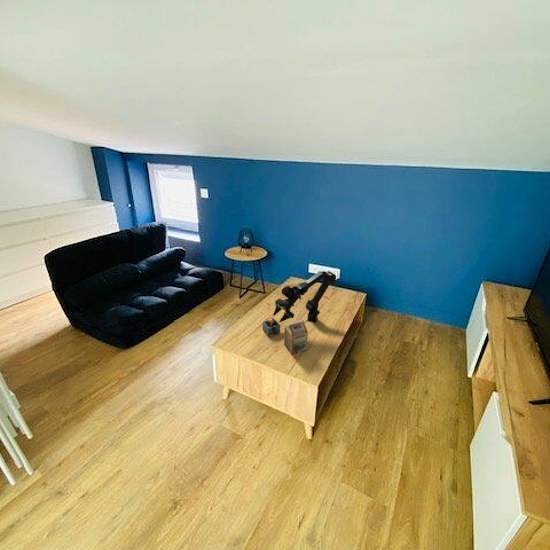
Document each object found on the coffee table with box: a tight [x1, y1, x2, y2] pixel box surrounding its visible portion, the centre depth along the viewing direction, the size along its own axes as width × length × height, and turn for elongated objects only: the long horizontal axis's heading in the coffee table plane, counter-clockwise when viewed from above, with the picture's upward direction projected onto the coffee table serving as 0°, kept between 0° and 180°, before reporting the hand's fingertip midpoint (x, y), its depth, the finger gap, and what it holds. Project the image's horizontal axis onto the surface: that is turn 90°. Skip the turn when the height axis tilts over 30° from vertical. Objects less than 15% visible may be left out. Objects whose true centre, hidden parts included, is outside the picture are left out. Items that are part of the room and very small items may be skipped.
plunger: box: [268, 317, 275, 327], centre depth 200 cm, size 7×7×9 cm
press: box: [262, 318, 281, 337], centre depth 200 cm, size 9×11×6 cm
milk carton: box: [283, 320, 309, 356], centre depth 183 cm, size 11×10×19 cm
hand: (276, 318), depth 200 cm, fingers open, 9 cm apart
